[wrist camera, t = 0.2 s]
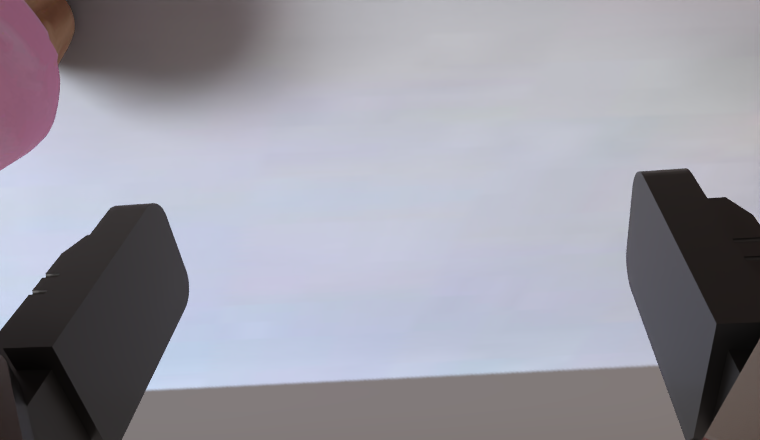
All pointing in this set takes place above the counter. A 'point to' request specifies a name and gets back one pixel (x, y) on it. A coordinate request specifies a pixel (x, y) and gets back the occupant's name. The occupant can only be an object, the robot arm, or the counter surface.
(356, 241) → the counter surface
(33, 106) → the cupcake
